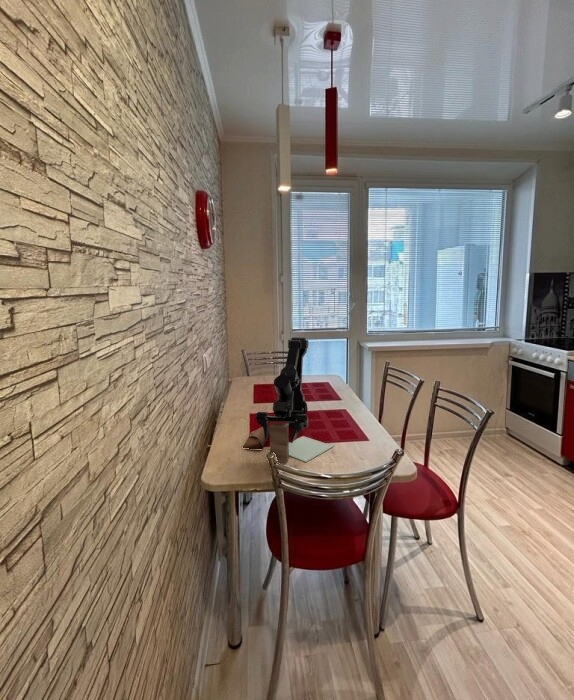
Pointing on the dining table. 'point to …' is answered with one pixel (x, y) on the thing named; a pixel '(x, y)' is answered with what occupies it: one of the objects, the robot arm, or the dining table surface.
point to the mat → (307, 448)
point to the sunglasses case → (256, 439)
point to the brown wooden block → (280, 441)
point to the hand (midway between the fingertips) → (278, 441)
